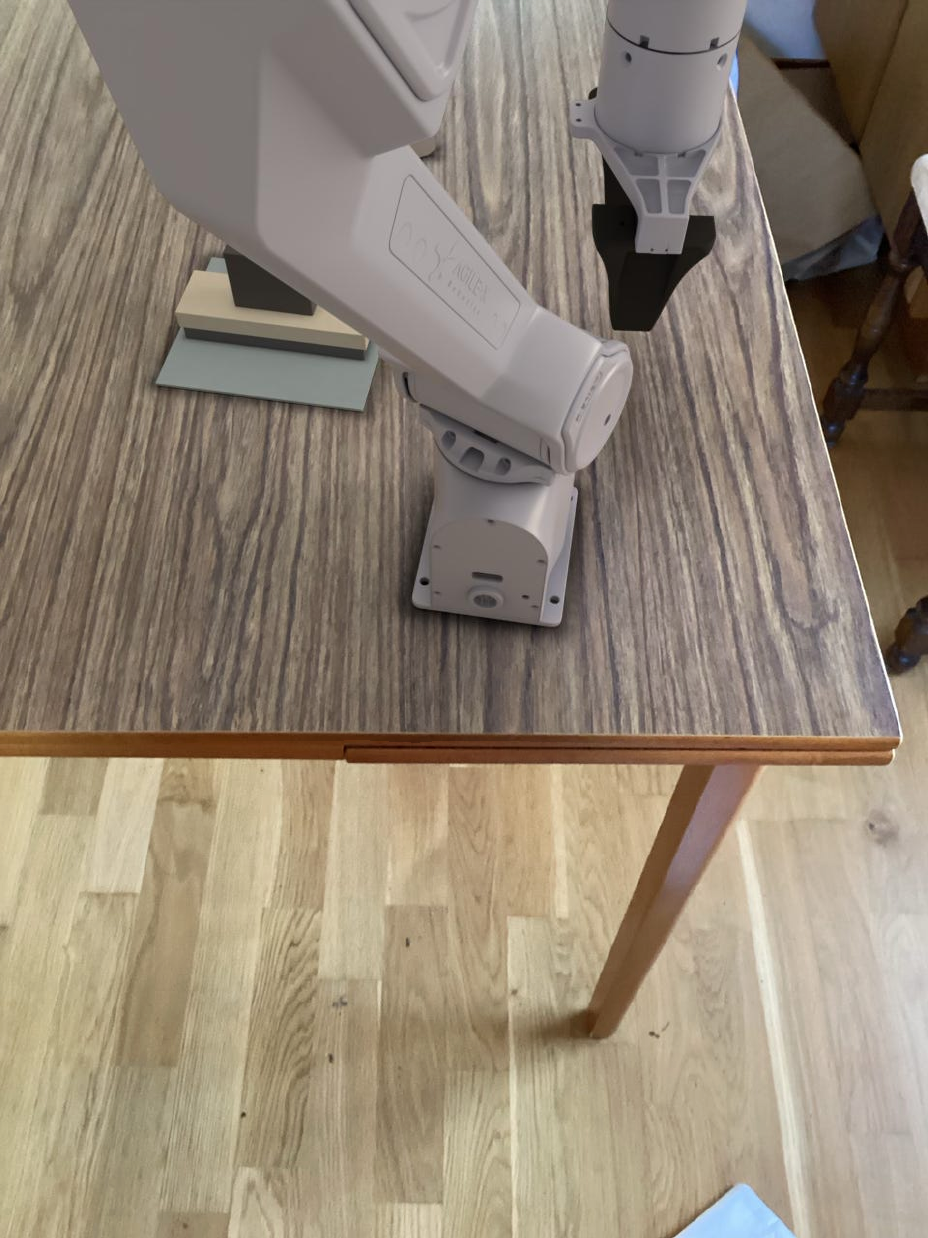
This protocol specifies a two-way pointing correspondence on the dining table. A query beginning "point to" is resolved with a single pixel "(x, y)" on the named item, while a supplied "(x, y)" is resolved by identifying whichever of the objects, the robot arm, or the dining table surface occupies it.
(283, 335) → the brush
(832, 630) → the dining table surface
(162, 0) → the robot arm
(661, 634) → the dining table surface
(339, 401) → the mat
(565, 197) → the dining table surface
